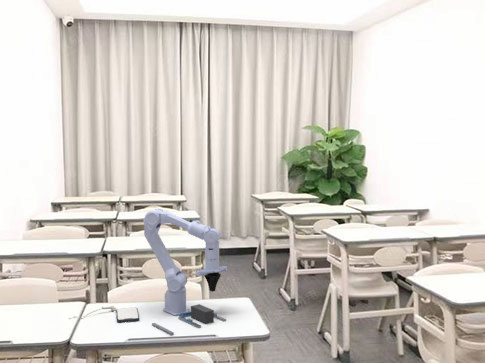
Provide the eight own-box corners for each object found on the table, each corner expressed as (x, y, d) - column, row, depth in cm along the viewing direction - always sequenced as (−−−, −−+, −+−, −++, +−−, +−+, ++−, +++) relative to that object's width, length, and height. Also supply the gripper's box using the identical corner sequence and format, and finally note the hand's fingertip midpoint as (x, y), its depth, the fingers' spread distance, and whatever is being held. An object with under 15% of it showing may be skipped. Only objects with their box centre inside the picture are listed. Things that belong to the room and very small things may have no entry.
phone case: (116, 312, 209) (116, 324, 194) (116, 308, 209) (116, 320, 194) (137, 310, 211) (139, 322, 196) (137, 307, 211) (139, 318, 196)
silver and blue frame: (150, 324, 192) (150, 320, 192) (203, 311, 208) (203, 308, 208) (171, 335, 181) (171, 331, 180) (226, 320, 197) (226, 317, 196)
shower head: (70, 328, 197) (119, 316, 207) (69, 321, 196) (119, 309, 206) (67, 321, 202) (116, 308, 211) (66, 314, 201) (115, 302, 210)
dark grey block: (190, 318, 200) (190, 306, 200) (199, 316, 203) (199, 304, 203) (205, 324, 193) (205, 312, 192) (213, 322, 195) (213, 310, 195)
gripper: (203, 262, 197) (203, 296, 198) (232, 257, 206) (232, 289, 207) (193, 259, 202) (193, 292, 203) (221, 254, 212) (221, 286, 212)
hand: (212, 290), depth 205 cm, fingers closed
